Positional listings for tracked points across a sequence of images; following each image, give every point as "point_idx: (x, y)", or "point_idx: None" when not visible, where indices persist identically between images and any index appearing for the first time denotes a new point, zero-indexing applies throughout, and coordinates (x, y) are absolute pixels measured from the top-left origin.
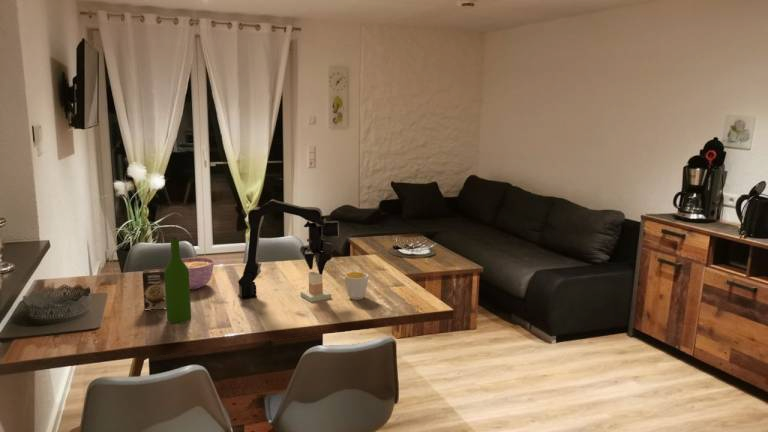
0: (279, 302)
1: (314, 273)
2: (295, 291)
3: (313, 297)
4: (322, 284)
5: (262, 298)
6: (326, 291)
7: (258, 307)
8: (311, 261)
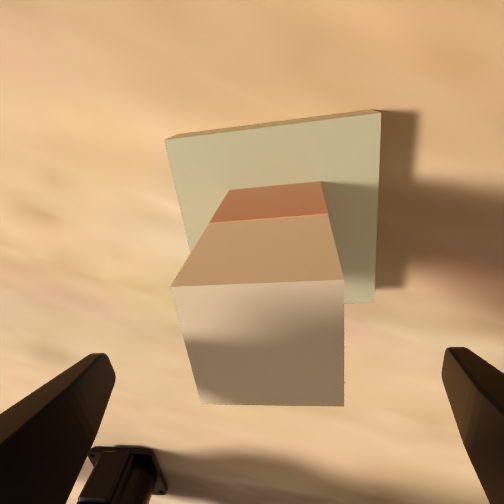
0: (273, 409)
1: (278, 367)
2: (106, 283)
3: (374, 282)
4: (327, 212)
5: (178, 439)
6: (288, 129)
7: (296, 483)
8: (4, 490)
